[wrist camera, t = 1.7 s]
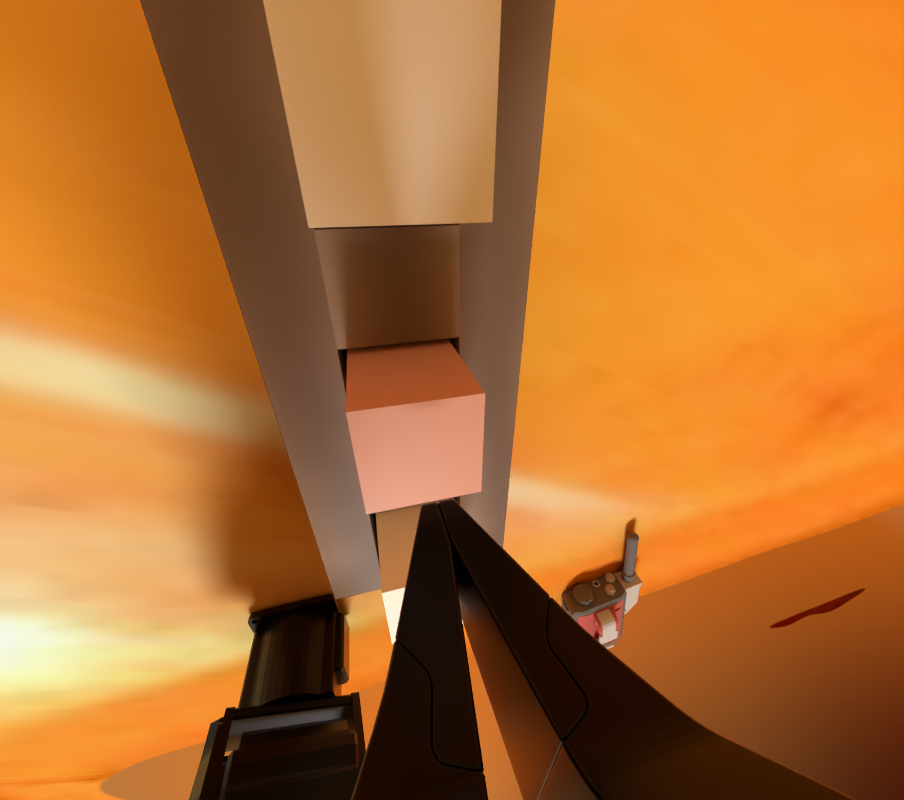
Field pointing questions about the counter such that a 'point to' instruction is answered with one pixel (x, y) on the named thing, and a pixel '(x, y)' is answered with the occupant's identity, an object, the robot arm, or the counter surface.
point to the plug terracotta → (414, 423)
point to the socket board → (355, 260)
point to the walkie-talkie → (606, 599)
